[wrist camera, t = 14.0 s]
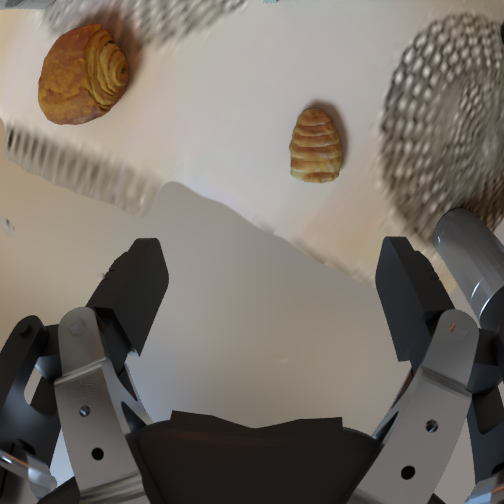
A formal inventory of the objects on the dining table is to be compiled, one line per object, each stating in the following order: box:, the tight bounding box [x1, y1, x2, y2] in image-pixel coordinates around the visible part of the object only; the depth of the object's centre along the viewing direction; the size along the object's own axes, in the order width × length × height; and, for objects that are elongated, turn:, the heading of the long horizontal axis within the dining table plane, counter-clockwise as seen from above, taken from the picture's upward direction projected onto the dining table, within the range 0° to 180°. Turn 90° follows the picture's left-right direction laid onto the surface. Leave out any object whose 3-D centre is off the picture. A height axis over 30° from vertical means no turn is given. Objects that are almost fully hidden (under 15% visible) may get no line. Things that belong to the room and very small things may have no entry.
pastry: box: [289, 108, 343, 183], centre depth 33 cm, size 9×7×4 cm
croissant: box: [38, 24, 129, 125], centre depth 27 cm, size 14×16×8 cm
